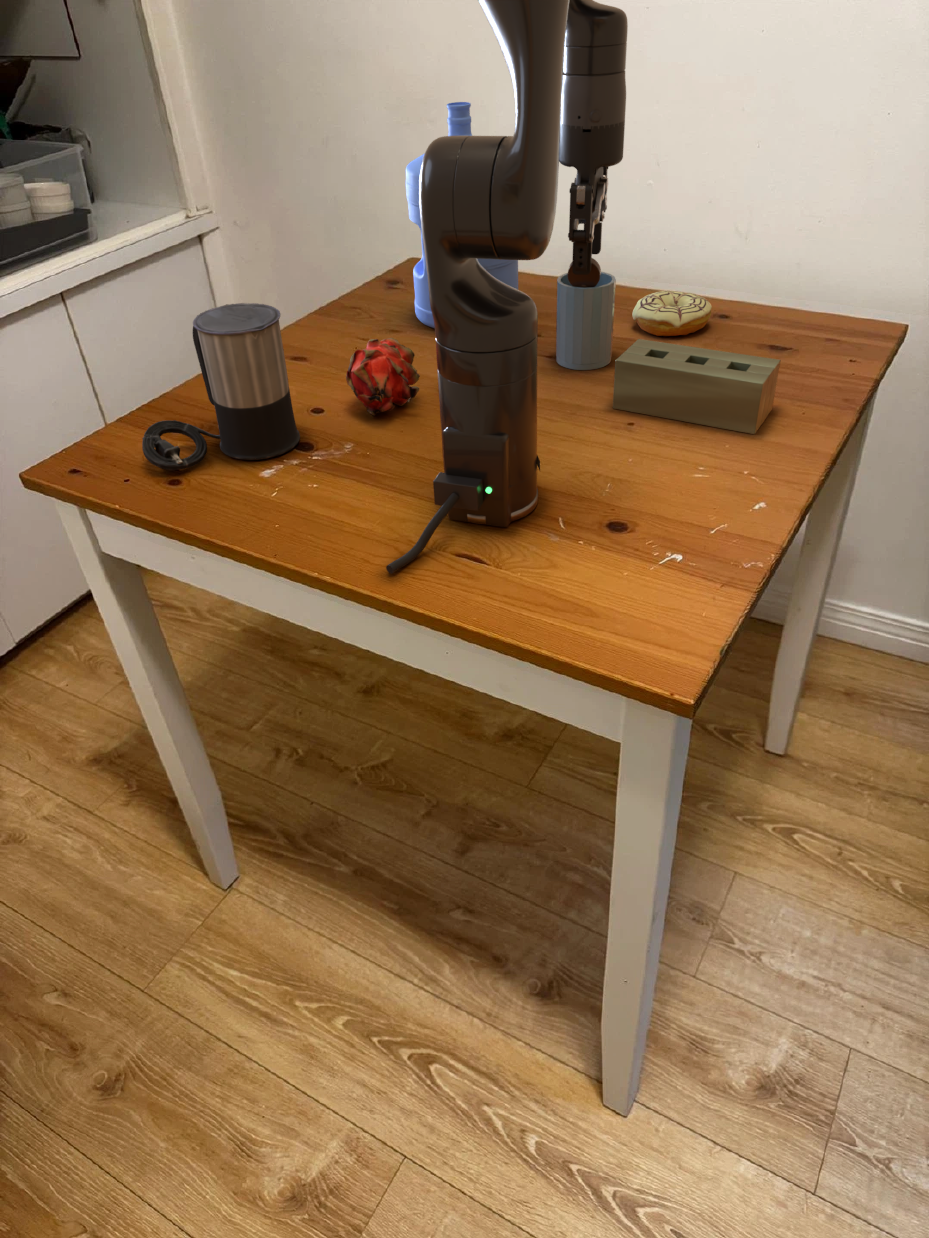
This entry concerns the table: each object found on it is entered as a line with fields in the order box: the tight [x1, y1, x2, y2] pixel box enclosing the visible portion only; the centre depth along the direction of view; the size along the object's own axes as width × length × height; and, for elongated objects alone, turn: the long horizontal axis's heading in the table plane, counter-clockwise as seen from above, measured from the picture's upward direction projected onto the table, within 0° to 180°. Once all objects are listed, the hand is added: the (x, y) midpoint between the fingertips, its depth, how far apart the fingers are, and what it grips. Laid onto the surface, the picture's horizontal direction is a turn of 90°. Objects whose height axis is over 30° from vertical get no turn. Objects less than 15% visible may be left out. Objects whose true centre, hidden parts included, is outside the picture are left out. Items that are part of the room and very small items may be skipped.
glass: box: [555, 271, 617, 371], centre depth 118 cm, size 7×7×10 cm
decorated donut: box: [631, 290, 713, 337], centre depth 129 cm, size 10×11×4 cm
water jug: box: [405, 101, 519, 329], centre depth 129 cm, size 16×16×28 cm
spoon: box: [567, 257, 602, 287], centre depth 116 cm, size 4×1×14 cm, turn 77°
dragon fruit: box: [345, 337, 421, 417], centre depth 111 cm, size 8×8×12 cm
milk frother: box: [141, 302, 301, 471], centre depth 100 cm, size 14×16×15 cm
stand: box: [612, 338, 781, 435], centre depth 106 cm, size 7×17×6 cm, turn 60°
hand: (586, 263), depth 114 cm, fingers open, 8 cm apart
